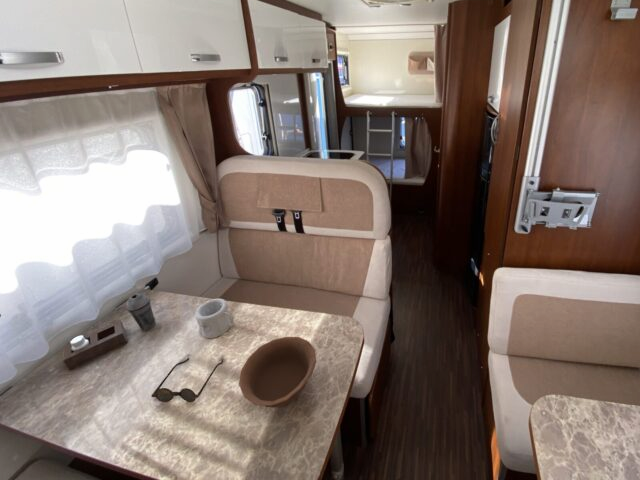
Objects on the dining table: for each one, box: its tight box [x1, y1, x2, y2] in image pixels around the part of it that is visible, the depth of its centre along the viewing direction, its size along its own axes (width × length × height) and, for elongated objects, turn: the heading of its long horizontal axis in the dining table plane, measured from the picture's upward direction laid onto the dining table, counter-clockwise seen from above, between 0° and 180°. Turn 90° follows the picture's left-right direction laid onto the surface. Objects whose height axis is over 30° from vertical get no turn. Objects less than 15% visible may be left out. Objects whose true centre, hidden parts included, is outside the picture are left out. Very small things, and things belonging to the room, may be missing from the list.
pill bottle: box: [69, 335, 90, 352], centre depth 107 cm, size 4×4×8 cm
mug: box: [194, 298, 235, 339], centre depth 116 cm, size 14×11×10 cm
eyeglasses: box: [151, 357, 224, 403], centre depth 97 cm, size 15×15×5 cm
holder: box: [62, 319, 128, 371], centre depth 110 cm, size 16×9×5 cm, turn 133°
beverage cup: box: [126, 283, 157, 332], centre depth 116 cm, size 7×7×20 cm
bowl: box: [238, 336, 317, 409], centre depth 91 cm, size 22×22×11 cm
